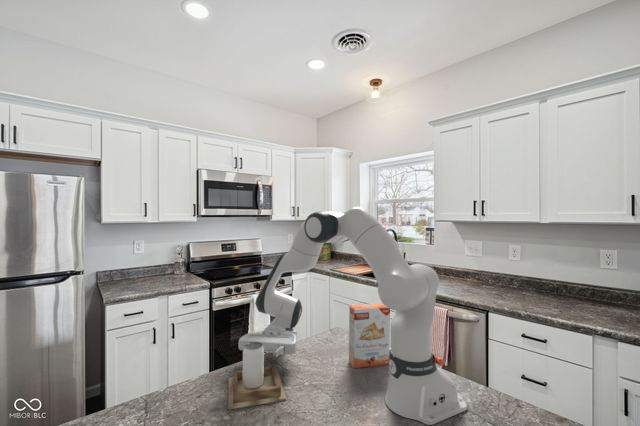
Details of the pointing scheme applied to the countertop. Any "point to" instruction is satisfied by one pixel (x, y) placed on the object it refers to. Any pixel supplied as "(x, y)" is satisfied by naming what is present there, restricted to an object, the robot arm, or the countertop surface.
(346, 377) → the countertop surface
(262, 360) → the can
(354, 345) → the cracker box
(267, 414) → the countertop surface
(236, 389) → the wooden serving tray
